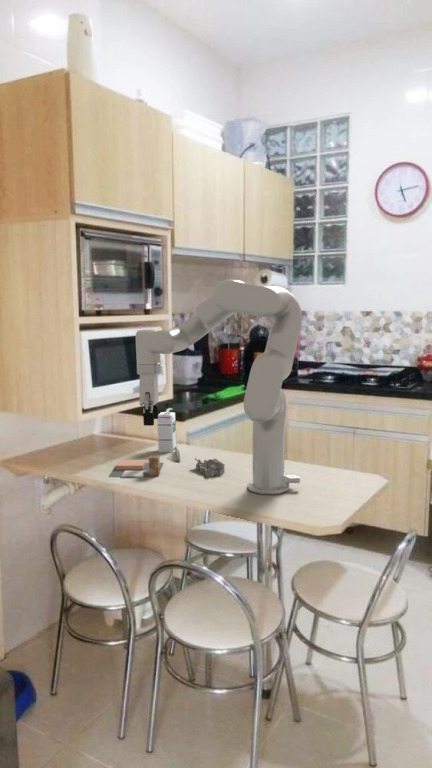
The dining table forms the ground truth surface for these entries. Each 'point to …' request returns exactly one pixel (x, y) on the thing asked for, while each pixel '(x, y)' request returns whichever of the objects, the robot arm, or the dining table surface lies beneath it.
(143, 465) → the tile
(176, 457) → the ceramic fragment
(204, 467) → the egg carton
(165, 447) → the syrup box
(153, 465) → the turner
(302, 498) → the dining table surface
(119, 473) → the mat
